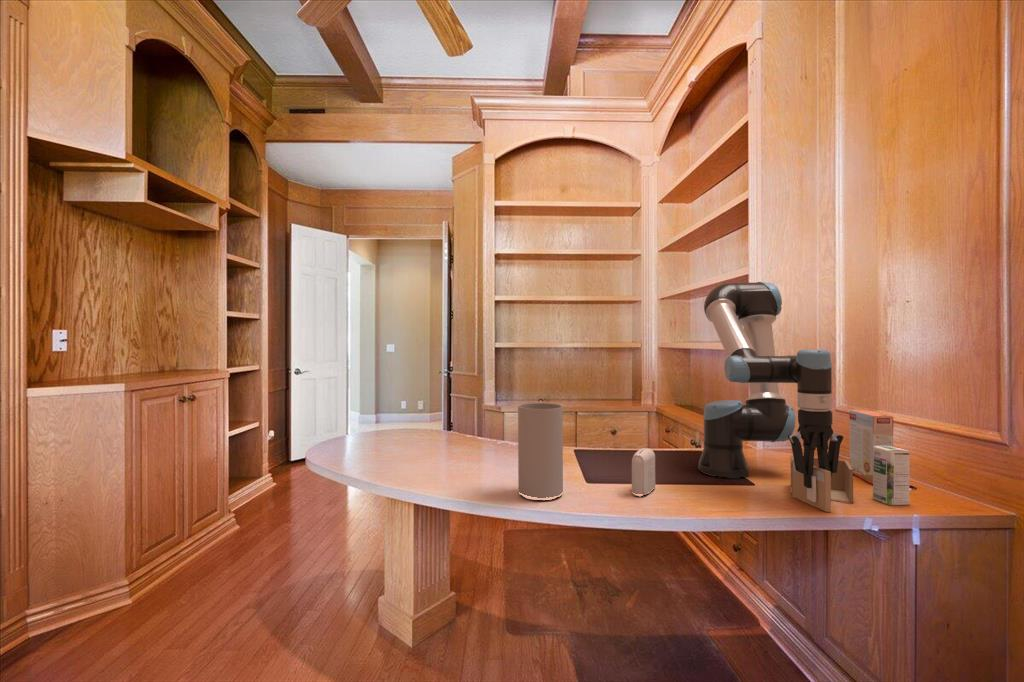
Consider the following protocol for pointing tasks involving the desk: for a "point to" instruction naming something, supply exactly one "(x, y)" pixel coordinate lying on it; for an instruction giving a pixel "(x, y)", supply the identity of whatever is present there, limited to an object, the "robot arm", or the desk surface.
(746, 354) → the robot arm
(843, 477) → the carton
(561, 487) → the cylinder vase
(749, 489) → the desk surface
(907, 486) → the syrup box
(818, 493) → the flap
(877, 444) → the cracker box
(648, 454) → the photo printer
